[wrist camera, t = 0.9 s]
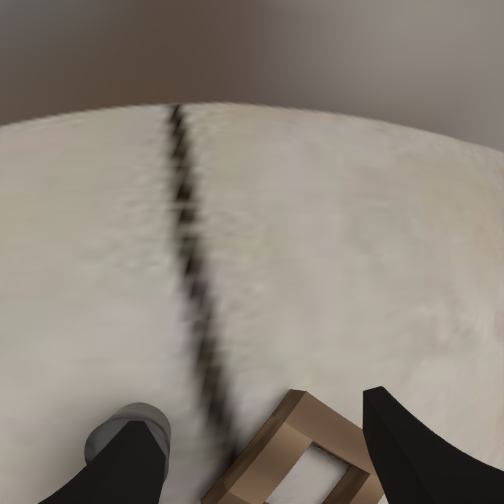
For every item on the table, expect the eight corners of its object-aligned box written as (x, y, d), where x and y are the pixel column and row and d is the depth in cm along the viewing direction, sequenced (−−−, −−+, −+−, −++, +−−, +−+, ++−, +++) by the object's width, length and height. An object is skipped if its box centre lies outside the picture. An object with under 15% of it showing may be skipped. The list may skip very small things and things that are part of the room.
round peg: (149, 465, 18) (137, 511, 10) (103, 430, 18) (69, 458, 11) (182, 427, 19) (185, 458, 12) (136, 391, 19) (115, 403, 12)
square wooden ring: (310, 550, 17) (325, 565, 14) (200, 499, 17) (204, 516, 15) (385, 451, 21) (407, 457, 19) (290, 389, 22) (306, 391, 19)
